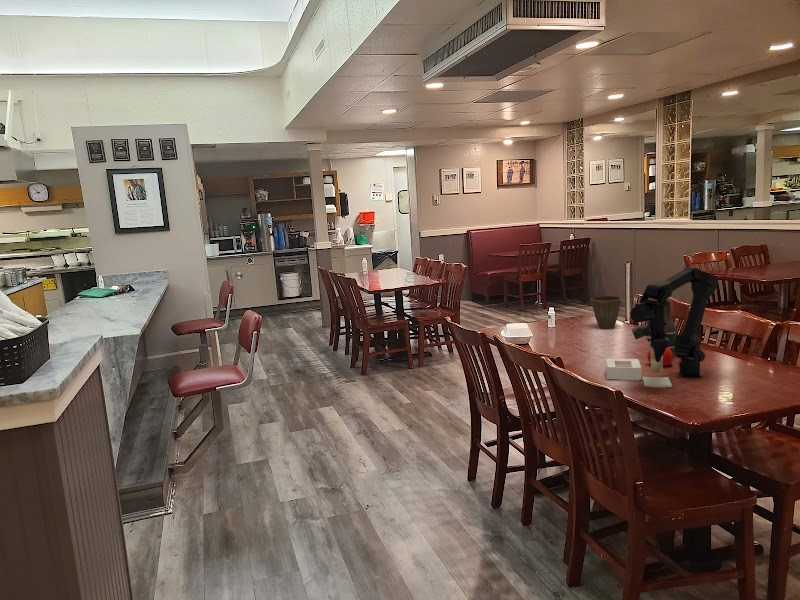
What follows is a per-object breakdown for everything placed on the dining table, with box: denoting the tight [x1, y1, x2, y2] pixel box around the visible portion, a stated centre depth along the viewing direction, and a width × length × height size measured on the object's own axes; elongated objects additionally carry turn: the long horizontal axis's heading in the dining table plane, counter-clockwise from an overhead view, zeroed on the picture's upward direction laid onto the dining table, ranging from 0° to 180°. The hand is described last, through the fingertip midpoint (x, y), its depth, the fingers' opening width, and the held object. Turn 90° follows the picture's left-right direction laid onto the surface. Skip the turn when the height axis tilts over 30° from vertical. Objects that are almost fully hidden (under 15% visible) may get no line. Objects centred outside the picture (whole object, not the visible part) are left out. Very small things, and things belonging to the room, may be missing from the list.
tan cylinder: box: [650, 347, 664, 373], centre depth 207 cm, size 4×4×10 cm
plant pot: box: [590, 295, 622, 330], centre depth 301 cm, size 15×15×16 cm
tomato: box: [647, 347, 674, 367], centre depth 231 cm, size 9×9×8 cm
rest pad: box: [641, 376, 673, 388], centre depth 209 cm, size 9×9×1 cm
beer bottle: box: [666, 300, 677, 358], centre depth 241 cm, size 8×8×24 cm
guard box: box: [605, 358, 642, 381], centre depth 220 cm, size 12×12×5 cm
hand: (656, 360), depth 208 cm, fingers closed on tan cylinder, 4 cm apart
